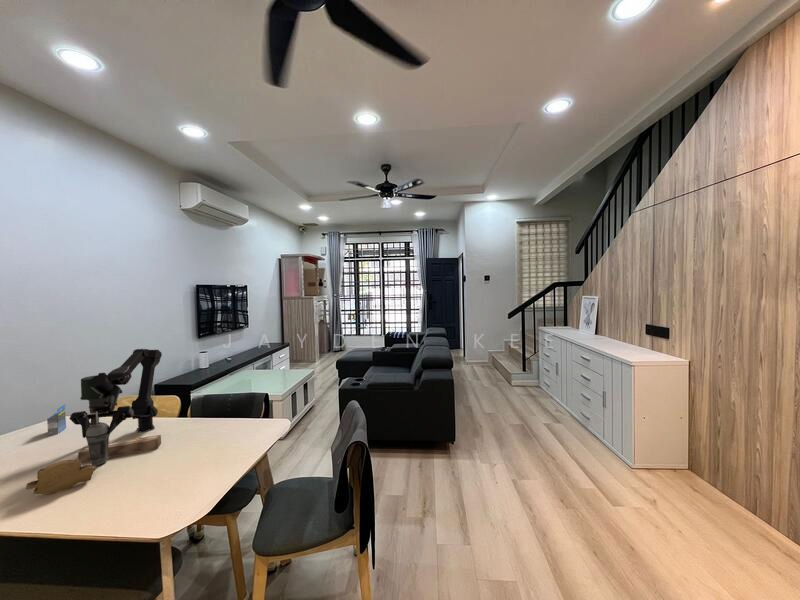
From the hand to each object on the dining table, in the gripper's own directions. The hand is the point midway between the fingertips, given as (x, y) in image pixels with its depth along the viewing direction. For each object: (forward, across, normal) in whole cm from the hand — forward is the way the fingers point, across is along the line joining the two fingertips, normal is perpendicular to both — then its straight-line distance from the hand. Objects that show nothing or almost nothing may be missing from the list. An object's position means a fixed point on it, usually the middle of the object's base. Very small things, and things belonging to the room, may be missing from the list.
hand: (96, 435), depth 125 cm
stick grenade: (-9, -11, +27) cm, 30 cm away
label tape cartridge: (-27, -36, +45) cm, 64 cm away
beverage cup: (+7, 0, +9) cm, 11 cm away
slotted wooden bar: (+2, +4, +15) cm, 16 cm away
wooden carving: (+19, -3, -3) cm, 20 cm away
